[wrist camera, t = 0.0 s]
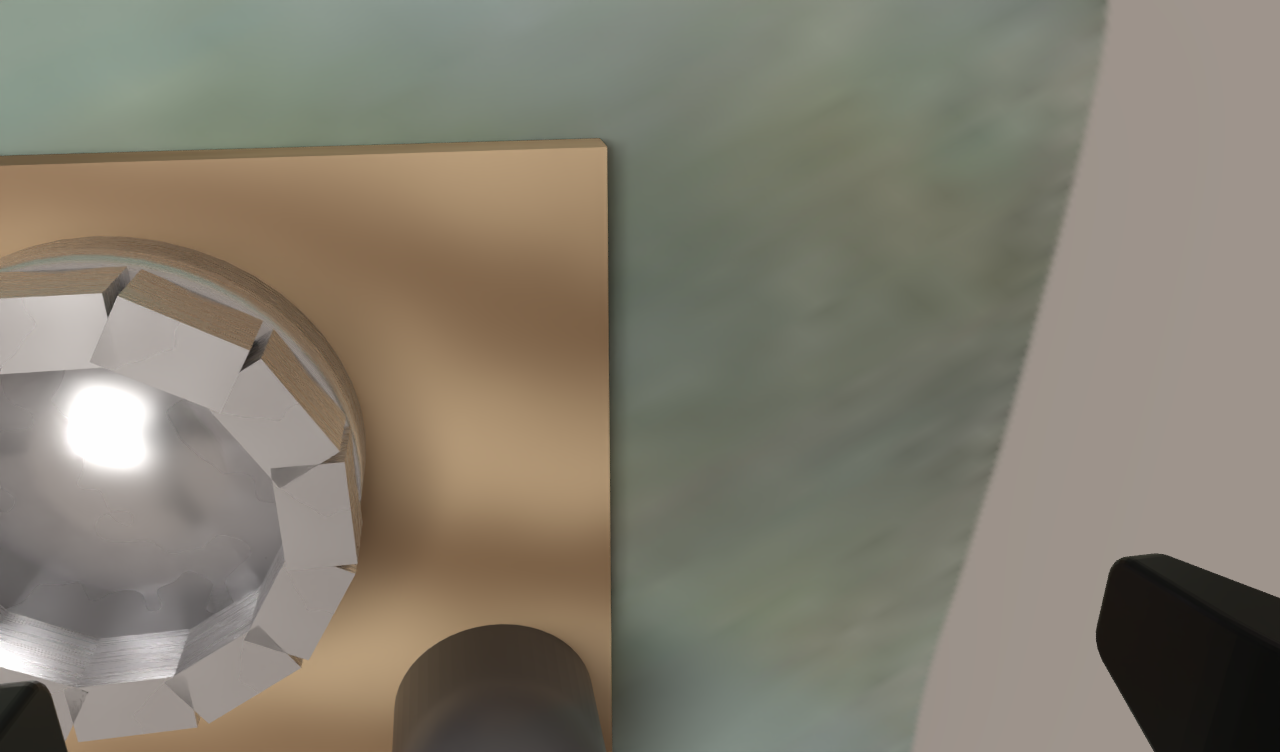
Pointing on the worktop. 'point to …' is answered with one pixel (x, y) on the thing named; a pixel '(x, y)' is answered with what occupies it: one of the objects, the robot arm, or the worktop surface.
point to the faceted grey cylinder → (166, 483)
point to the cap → (497, 695)
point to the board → (404, 387)
